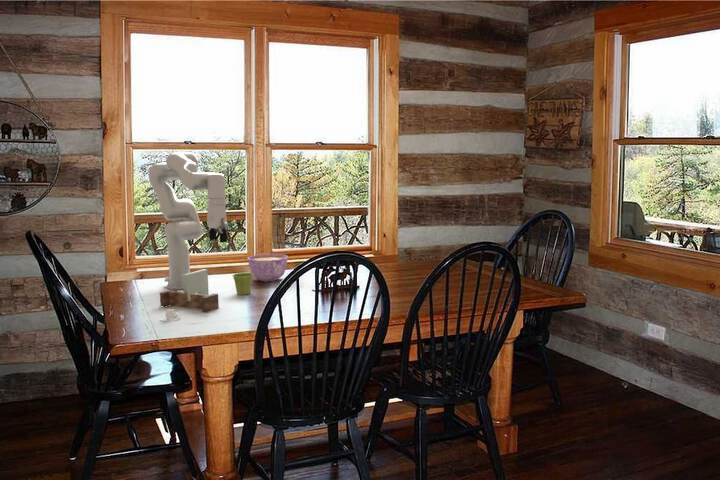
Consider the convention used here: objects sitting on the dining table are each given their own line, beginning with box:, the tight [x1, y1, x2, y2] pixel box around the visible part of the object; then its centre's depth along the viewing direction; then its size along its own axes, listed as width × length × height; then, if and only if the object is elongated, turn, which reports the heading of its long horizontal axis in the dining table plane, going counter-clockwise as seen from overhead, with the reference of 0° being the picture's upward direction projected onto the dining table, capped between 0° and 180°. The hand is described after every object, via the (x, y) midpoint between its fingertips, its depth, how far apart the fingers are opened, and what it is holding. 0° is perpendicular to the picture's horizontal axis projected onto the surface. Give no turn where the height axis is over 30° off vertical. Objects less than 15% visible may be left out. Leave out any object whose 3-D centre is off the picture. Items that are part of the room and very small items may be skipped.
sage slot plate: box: [182, 268, 210, 300], centre depth 304 cm, size 2×14×12 cm, turn 153°
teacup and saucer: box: [164, 308, 179, 320], centre depth 270 cm, size 9×8×4 cm
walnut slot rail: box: [159, 289, 220, 313], centre depth 288 cm, size 24×8×6 cm, turn 63°
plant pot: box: [232, 272, 254, 296], centre depth 313 cm, size 9×9×9 cm
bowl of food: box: [247, 253, 289, 283], centre depth 343 cm, size 20×20×12 cm
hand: (218, 240), depth 303 cm, fingers open, 9 cm apart
